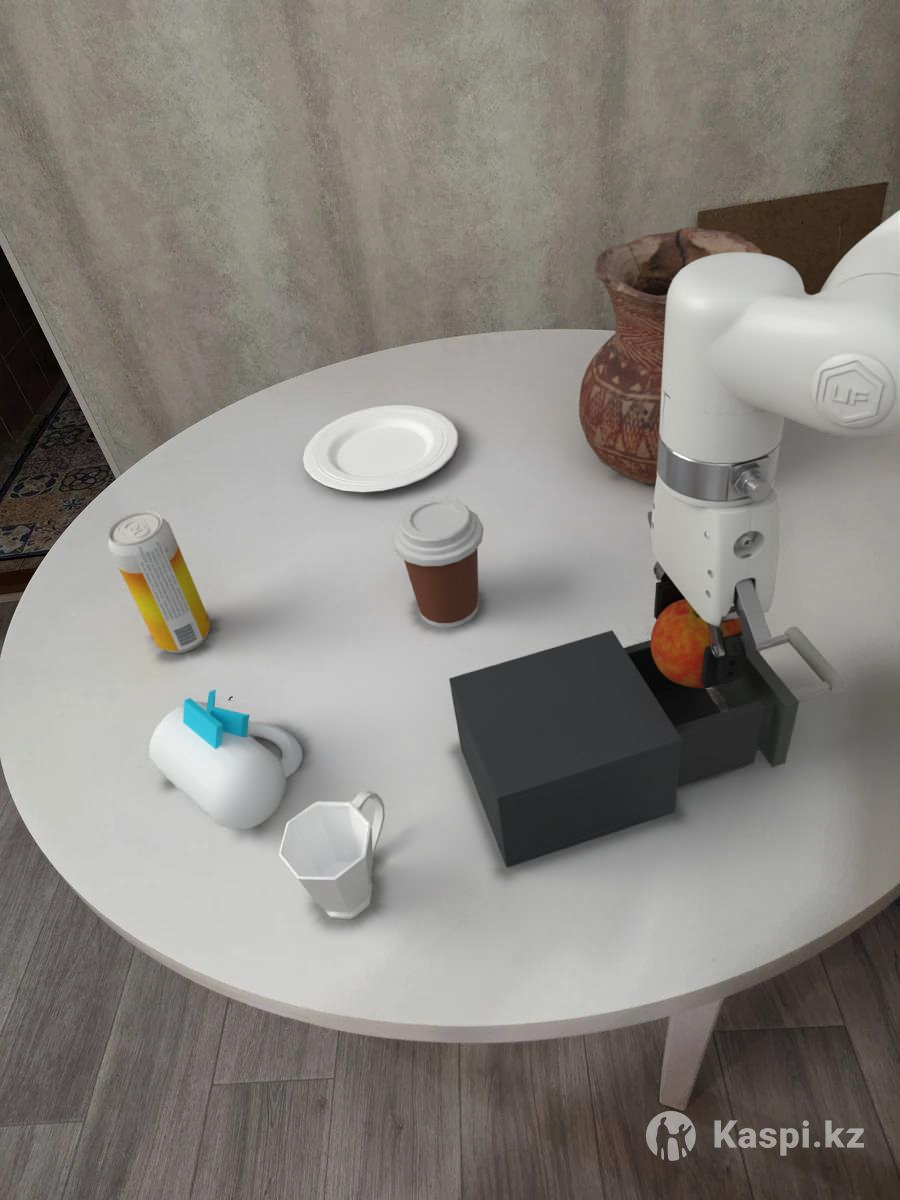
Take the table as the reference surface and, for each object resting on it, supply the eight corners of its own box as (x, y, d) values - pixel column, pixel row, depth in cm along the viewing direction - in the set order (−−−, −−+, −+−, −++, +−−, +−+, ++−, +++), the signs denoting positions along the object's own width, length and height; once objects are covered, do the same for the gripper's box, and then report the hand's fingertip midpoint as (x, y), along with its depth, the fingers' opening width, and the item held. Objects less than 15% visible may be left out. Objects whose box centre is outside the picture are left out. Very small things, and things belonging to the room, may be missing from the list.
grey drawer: (776, 651, 81) (788, 590, 76) (851, 741, 73) (871, 679, 68) (580, 712, 79) (579, 652, 73) (635, 812, 70) (638, 753, 65)
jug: (759, 509, 98) (792, 296, 82) (573, 507, 103) (569, 304, 86) (746, 408, 114) (771, 213, 97) (585, 410, 118) (583, 223, 102)
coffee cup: (501, 583, 94) (492, 493, 86) (477, 642, 88) (465, 551, 80) (422, 574, 97) (407, 486, 89) (394, 630, 91) (374, 541, 83)
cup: (285, 915, 68) (258, 860, 63) (352, 814, 74) (333, 757, 69) (360, 951, 65) (338, 897, 60) (423, 843, 71) (409, 786, 66)
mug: (234, 767, 67) (149, 696, 73) (227, 858, 70) (148, 783, 77) (347, 719, 75) (262, 660, 82) (336, 802, 79) (256, 739, 86)
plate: (446, 503, 106) (444, 490, 105) (286, 503, 110) (282, 490, 109) (470, 414, 121) (468, 402, 120) (328, 417, 125) (325, 405, 124)
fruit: (651, 705, 68) (655, 634, 63) (646, 643, 73) (650, 571, 68) (743, 706, 67) (755, 633, 62) (732, 642, 72) (742, 570, 67)
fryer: (611, 703, 80) (612, 629, 74) (675, 812, 71) (682, 739, 64) (461, 749, 78) (448, 678, 72) (506, 868, 69) (497, 798, 62)
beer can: (196, 609, 97) (150, 500, 87) (222, 635, 93) (177, 525, 83) (147, 636, 94) (94, 528, 84) (171, 665, 91) (118, 555, 80)
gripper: (851, 514, 50) (802, 712, 62) (703, 383, 63) (687, 568, 75) (733, 548, 49) (707, 743, 61) (608, 408, 62) (606, 592, 74)
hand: (696, 646), depth 68 cm, fingers closed on fruit, 7 cm apart
